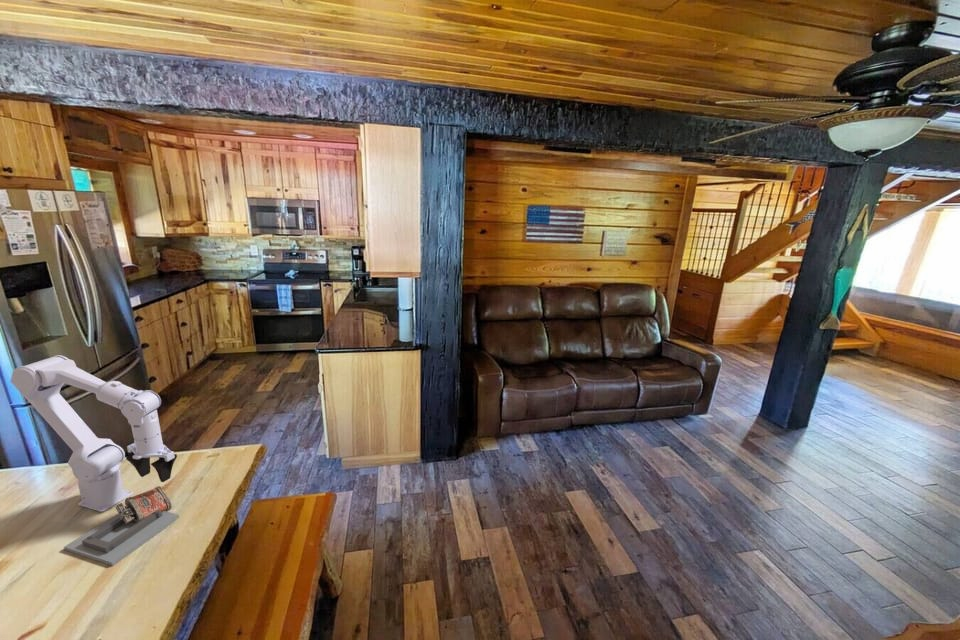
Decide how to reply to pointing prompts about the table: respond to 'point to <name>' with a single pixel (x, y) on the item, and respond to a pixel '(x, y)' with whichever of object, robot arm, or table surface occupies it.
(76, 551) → the socket dock
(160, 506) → the lighter
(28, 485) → the table surface
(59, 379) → the robot arm
